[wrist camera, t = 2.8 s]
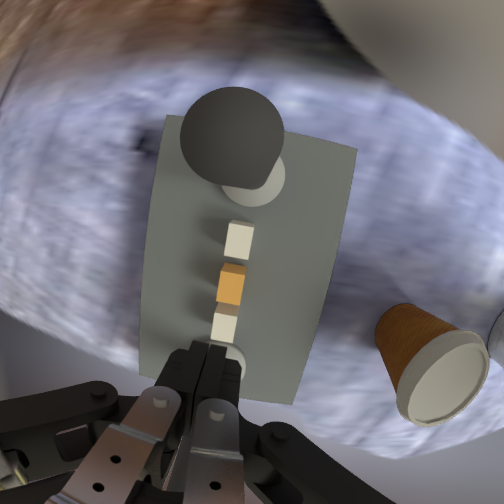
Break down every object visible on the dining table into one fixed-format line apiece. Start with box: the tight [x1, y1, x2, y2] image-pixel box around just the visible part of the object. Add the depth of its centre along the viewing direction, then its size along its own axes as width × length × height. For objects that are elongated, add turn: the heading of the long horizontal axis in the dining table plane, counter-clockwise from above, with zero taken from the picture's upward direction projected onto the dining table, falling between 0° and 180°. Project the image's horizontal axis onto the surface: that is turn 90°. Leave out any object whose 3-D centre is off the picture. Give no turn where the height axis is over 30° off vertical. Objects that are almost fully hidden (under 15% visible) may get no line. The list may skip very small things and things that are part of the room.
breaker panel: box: [139, 115, 357, 405], centre depth 25 cm, size 16×25×7 cm, turn 169°
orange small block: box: [216, 263, 247, 306], centre depth 23 cm, size 2×2×3 cm
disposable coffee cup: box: [375, 304, 490, 427], centre depth 24 cm, size 10×10×12 cm
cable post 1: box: [180, 87, 285, 207], centre depth 15 cm, size 5×5×17 cm
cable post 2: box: [166, 339, 246, 492], centre depth 18 cm, size 5×5×17 cm
